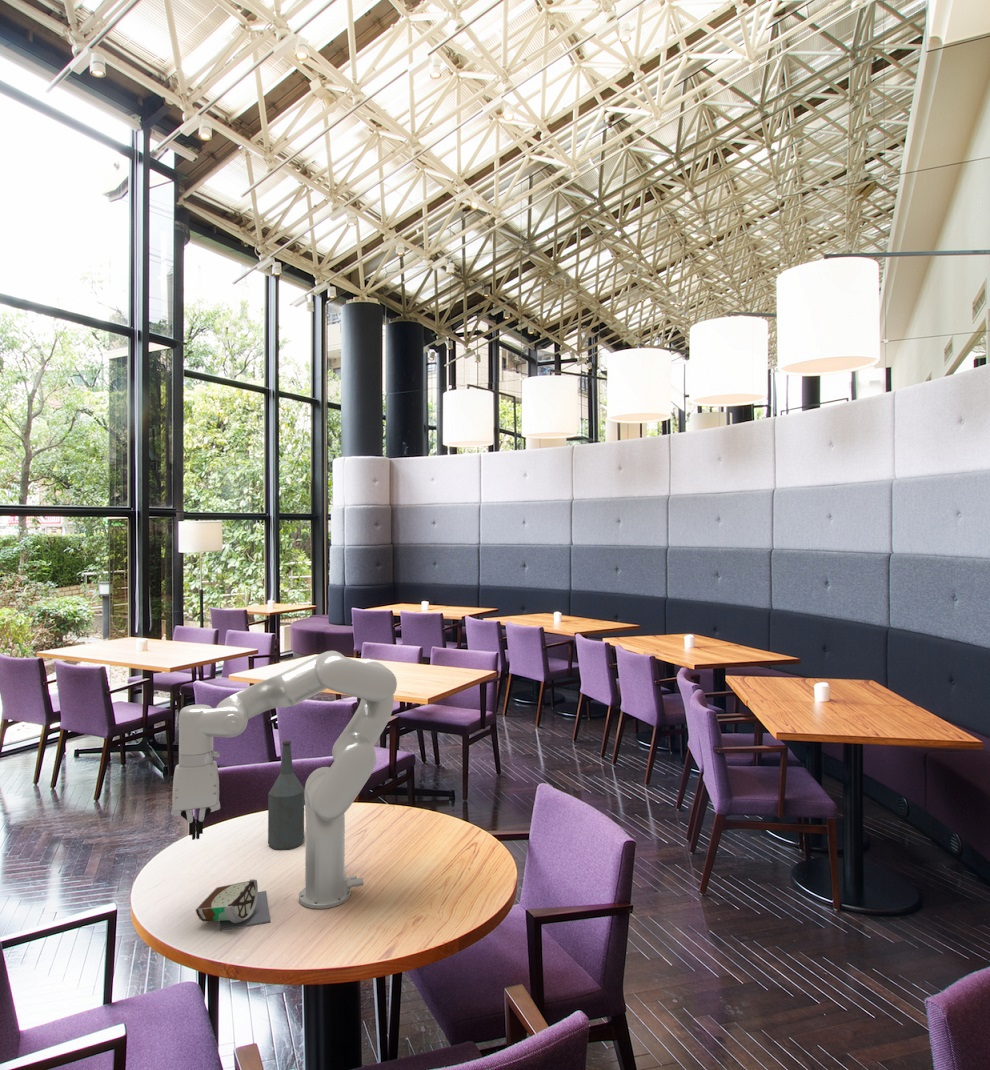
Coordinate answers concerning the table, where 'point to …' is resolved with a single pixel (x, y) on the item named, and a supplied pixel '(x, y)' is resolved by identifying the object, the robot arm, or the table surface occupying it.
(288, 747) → the bottle
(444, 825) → the table surface
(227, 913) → the food container
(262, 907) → the mat
